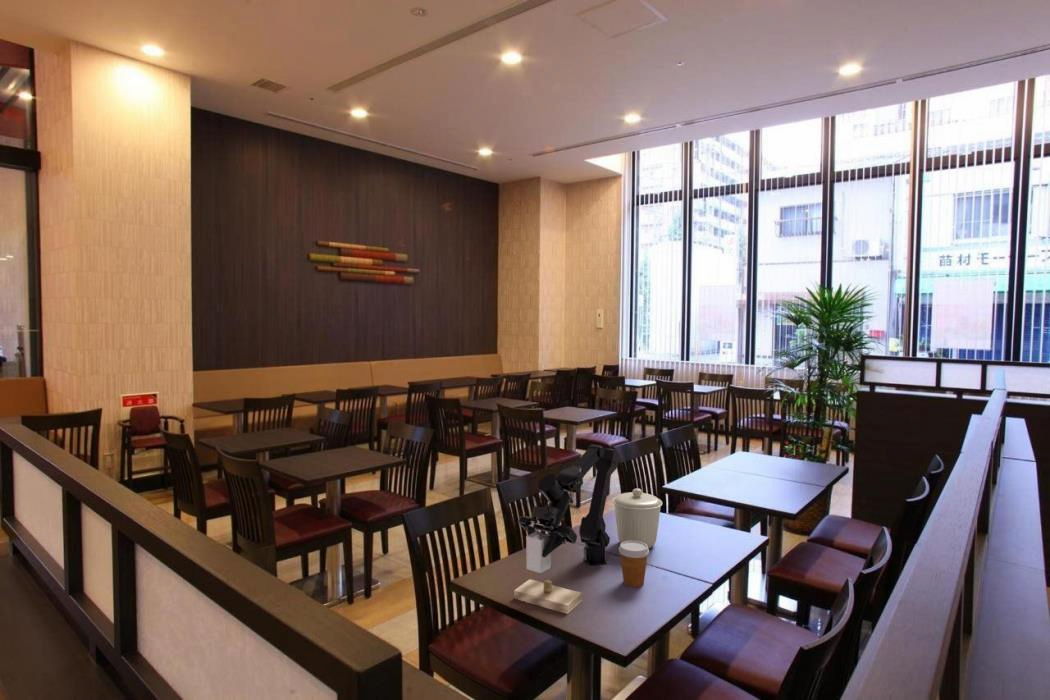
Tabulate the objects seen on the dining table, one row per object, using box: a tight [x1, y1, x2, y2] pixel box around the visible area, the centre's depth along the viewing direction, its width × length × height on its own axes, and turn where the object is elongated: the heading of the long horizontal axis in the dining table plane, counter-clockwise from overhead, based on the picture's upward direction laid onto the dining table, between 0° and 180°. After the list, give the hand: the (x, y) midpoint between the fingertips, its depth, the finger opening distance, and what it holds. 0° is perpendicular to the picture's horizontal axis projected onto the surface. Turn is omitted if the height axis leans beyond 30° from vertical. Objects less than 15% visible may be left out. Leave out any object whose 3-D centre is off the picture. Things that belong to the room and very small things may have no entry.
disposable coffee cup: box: [618, 541, 650, 588], centre depth 188 cm, size 10×10×12 cm
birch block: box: [513, 578, 583, 615], centre depth 177 cm, size 18×9×6 cm, turn 58°
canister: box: [612, 488, 663, 549], centre depth 220 cm, size 18×18×21 cm
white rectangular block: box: [525, 531, 552, 574], centre depth 179 cm, size 5×5×10 cm
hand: (535, 554), depth 178 cm, fingers closed on white rectangular block, 5 cm apart
